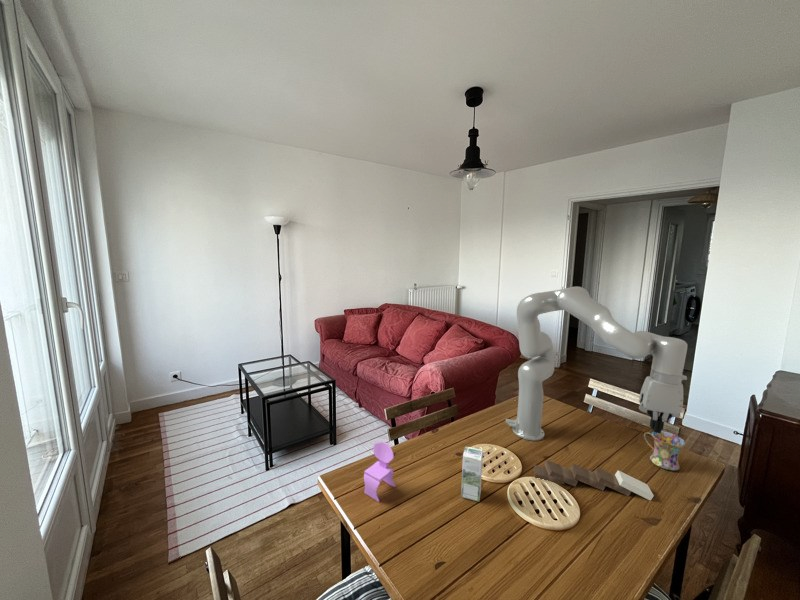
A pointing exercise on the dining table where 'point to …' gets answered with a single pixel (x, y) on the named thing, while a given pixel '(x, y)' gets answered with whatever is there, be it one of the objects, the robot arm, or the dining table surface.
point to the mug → (665, 449)
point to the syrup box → (471, 473)
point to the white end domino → (634, 485)
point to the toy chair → (379, 470)
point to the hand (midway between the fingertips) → (655, 430)
